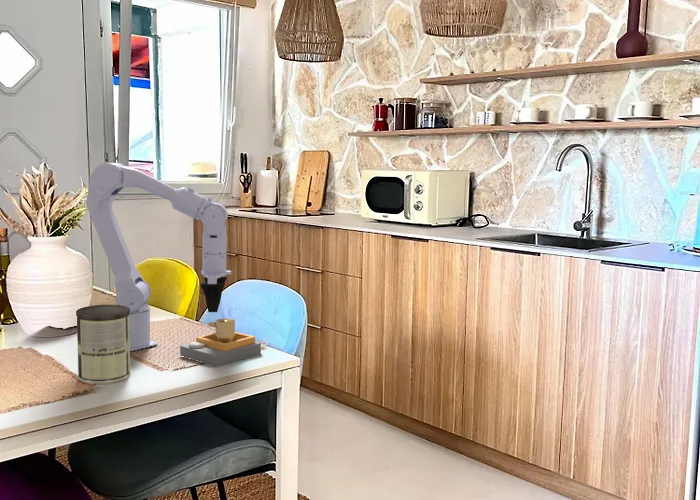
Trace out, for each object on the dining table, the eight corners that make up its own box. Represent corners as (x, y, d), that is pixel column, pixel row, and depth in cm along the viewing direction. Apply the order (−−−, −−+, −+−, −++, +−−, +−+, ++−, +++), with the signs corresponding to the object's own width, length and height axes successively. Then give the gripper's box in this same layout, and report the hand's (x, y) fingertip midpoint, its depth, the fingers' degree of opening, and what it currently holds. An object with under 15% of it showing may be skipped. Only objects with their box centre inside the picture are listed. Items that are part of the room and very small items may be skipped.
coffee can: (67, 376, 136) (66, 309, 134) (113, 366, 143) (112, 302, 142) (94, 388, 129) (93, 317, 127) (140, 376, 137) (140, 309, 135)
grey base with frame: (215, 366, 145) (215, 348, 144) (180, 356, 152) (180, 339, 151) (260, 353, 156) (260, 336, 156) (225, 344, 163) (225, 328, 163)
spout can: (235, 351, 157) (236, 318, 156) (233, 356, 153) (233, 322, 152) (209, 351, 157) (210, 318, 156) (206, 356, 153) (206, 322, 152)
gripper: (229, 257, 152) (229, 315, 154) (232, 249, 166) (232, 302, 168) (198, 256, 151) (198, 315, 153) (204, 249, 165) (203, 302, 167)
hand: (214, 308), depth 160 cm, fingers open, 7 cm apart
